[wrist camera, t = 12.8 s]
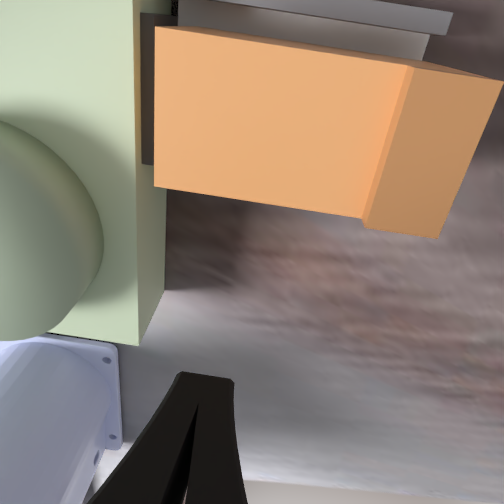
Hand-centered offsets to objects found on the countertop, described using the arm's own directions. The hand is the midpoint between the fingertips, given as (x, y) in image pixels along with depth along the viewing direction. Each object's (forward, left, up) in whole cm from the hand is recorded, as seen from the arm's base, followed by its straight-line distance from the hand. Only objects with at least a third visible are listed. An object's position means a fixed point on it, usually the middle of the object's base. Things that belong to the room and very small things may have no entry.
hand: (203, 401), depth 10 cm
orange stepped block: (+6, -2, -9) cm, 11 cm away
